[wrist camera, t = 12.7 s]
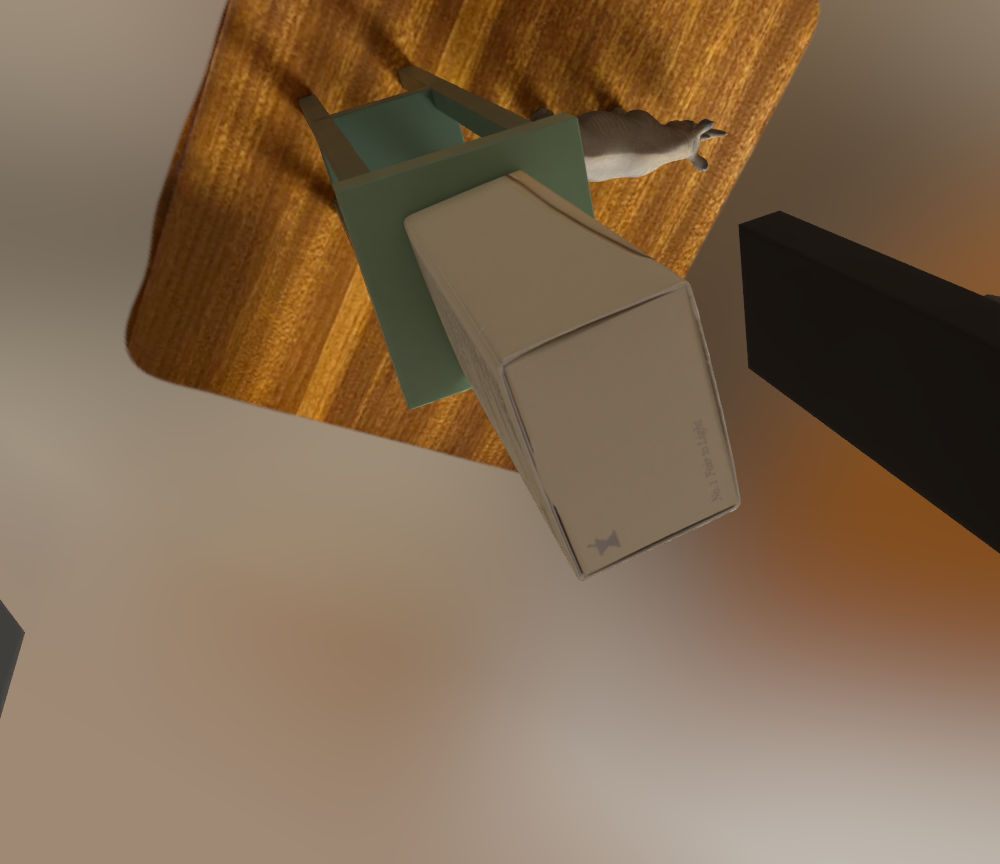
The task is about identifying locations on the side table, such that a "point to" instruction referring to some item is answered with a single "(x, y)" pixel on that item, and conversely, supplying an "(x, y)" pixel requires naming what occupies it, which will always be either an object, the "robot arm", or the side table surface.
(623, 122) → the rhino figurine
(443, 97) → the stand
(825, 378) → the robot arm
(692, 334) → the cosmetic box
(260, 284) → the side table surface
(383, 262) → the green square board
